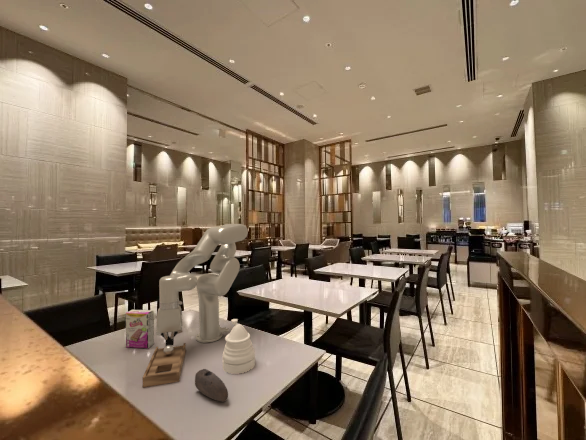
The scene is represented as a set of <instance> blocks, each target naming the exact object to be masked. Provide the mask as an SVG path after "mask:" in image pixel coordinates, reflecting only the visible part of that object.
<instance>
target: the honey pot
mask: <svg viewBox="0 0 586 440" xmlns="http://www.w3.org/2000/svg"><path fill="white" fill-rule="evenodd" d="M238 320H239V319H238V318H233V319H231V320H230V321H231V324H232V325H233V327H232V329H231V330H230V332H228V333H227V335H226V336H225V337H224V340H225V342H226V343H225V345H224V348H223V352H222V356H221V357H222V360H221V361H222V370H223V371H224V372H225V373H227V372H228V373H227V374H230V373H231V375H240V374H239V373H242V374H245V373H248V372H249V370H250V369H251V370H252V369H254V367H255V365H256V360H255V359H256V357H255V356H256V353H255V352H256V351H255V348H254V346H253V342H252V340H251V334H250V333H249V331H247V329H246V328H245V327H244V326H243V325H242V324H240V323H238V322H239V321H238ZM251 370H250V371H251ZM247 371H248V372H247ZM244 372H245V373H244Z"/></svg>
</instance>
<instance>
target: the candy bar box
mask: <svg viewBox="0 0 586 440" xmlns="http://www.w3.org/2000/svg"><path fill="white" fill-rule="evenodd" d="M124 314H125V348H129V349H131V348H132V349H150V348H151V347H152V346H153V345H154V344H155V327H154V326H155V323H154V320H155V318H154V317H155V316H154V315H155V314H154V310H151V309H131V310H129V311H126V312H125V313H124Z"/></svg>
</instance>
